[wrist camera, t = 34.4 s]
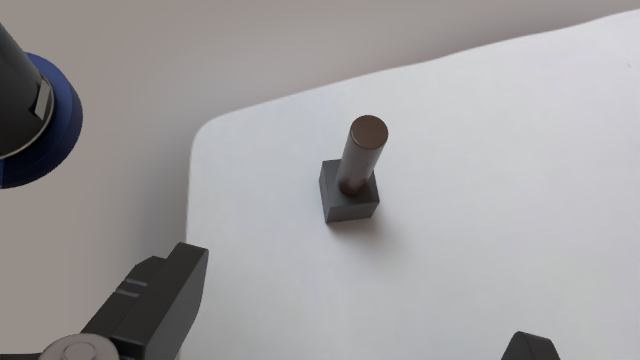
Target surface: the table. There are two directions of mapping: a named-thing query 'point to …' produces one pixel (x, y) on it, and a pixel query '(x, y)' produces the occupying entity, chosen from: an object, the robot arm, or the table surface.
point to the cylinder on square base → (354, 173)
